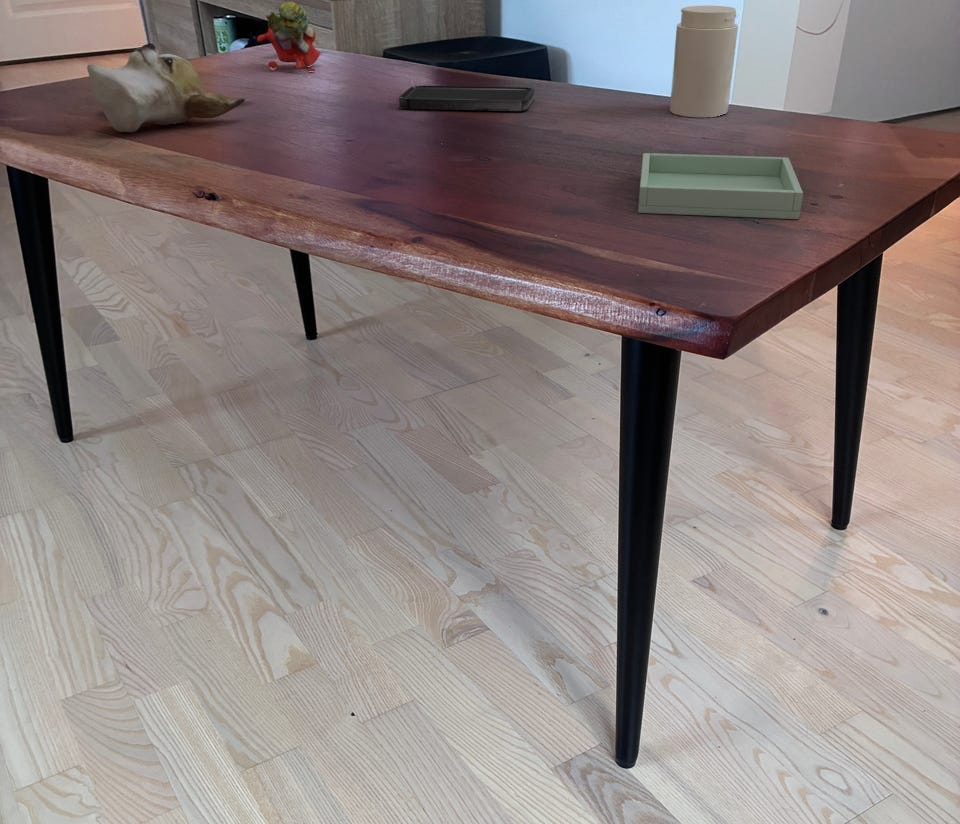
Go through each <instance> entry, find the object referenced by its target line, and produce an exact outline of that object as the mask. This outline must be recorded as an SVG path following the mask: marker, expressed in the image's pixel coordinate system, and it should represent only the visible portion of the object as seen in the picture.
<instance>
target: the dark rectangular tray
mask: <svg viewBox="0 0 960 824" xmlns="http://www.w3.org/2000/svg"><path fill="white" fill-rule="evenodd" d="M534 101H535V88H533V87H526V86H525V87H523V86H514V87H513V86H466V85H464V86H463V85H413V86H410V87H409V88H407V90H405V91H404V92H403V93H402V94H400V95H399V96H398V102H399V108H400V109H405V110H408V109H409V110H447V111H448V110H449V111H450V110H451V111H452V110H453V111H454V110H455V111H459V110H460V111H492V112H493V111H494V112H495V111H499V112H524V111H528V110H529V109H530V107H531V105H532V104H533V102H534Z"/></svg>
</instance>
